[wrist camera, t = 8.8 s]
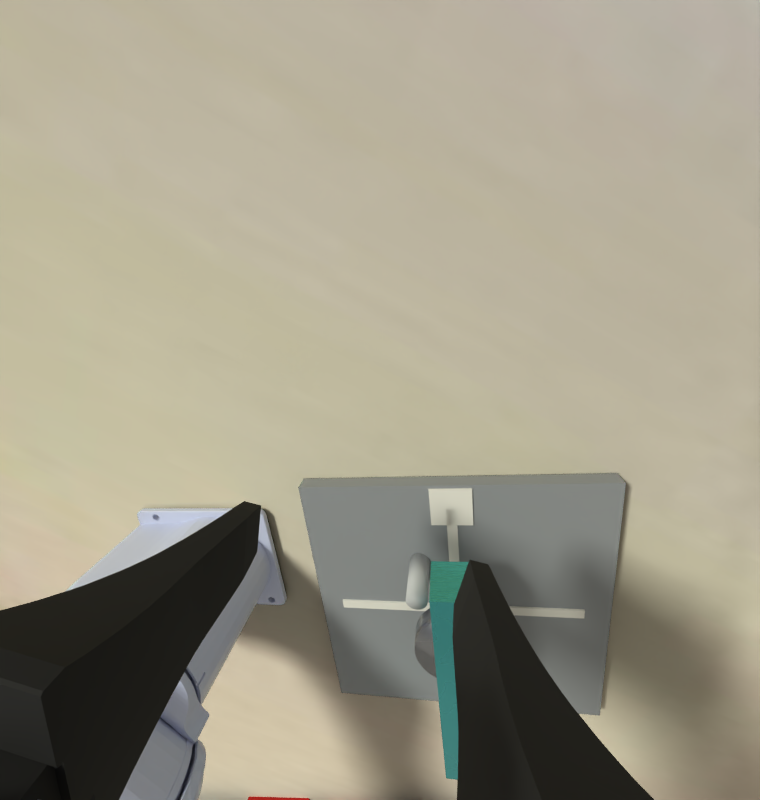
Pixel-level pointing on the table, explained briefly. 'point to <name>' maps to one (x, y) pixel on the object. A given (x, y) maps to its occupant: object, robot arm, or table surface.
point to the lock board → (460, 542)
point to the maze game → (275, 798)
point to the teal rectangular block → (442, 651)
